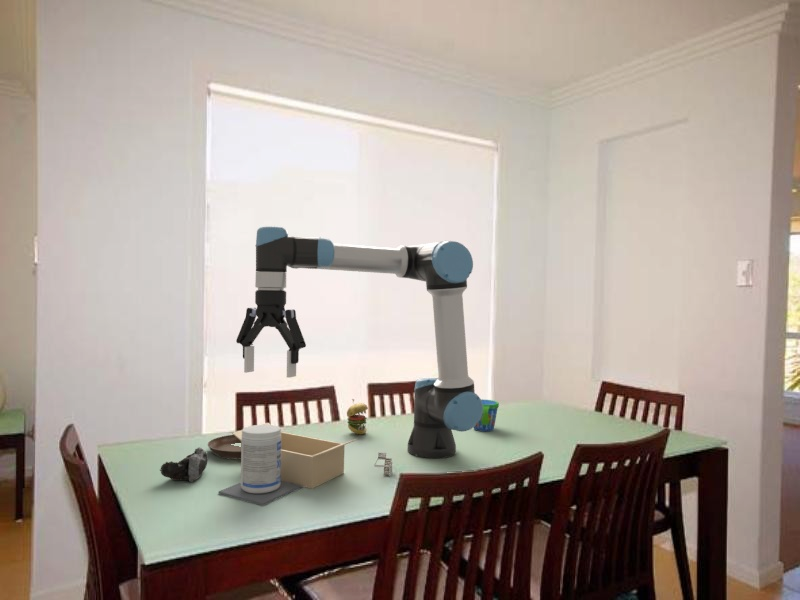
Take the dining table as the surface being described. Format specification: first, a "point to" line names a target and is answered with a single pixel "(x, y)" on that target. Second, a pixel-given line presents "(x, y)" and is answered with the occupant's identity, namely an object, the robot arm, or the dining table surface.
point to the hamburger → (357, 418)
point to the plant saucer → (225, 447)
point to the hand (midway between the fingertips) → (269, 374)
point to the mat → (261, 498)
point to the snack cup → (487, 416)
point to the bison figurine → (186, 466)
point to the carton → (308, 459)
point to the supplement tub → (260, 458)
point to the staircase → (383, 457)
